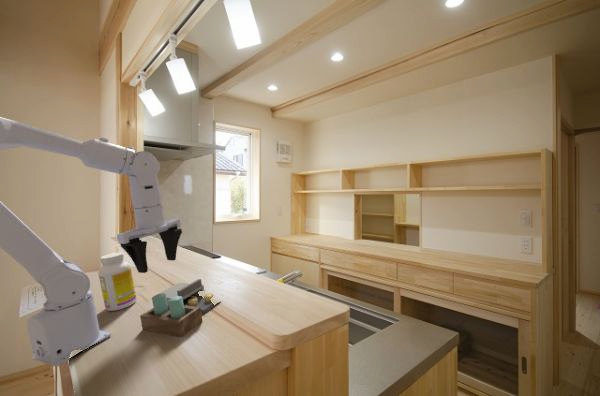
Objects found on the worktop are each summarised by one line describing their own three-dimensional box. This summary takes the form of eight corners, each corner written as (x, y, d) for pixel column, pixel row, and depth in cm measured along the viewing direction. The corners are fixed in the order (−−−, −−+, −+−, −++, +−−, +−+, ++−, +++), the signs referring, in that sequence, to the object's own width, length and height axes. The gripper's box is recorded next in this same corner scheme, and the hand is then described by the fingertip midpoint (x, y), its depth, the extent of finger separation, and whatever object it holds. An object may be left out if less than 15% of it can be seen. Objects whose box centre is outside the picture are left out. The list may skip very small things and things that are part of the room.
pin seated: (162, 328, 58) (158, 299, 57) (153, 326, 59) (148, 298, 58) (173, 321, 60) (168, 294, 59) (164, 319, 61) (159, 292, 60)
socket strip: (181, 337, 53) (178, 322, 53) (142, 329, 58) (140, 315, 57) (202, 321, 59) (200, 307, 58) (165, 315, 63) (163, 302, 63)
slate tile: (204, 313, 62) (202, 304, 61) (182, 310, 64) (180, 302, 64) (221, 301, 67) (219, 293, 67) (200, 298, 69) (198, 291, 69)
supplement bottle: (142, 297, 74) (133, 249, 73) (127, 310, 68) (118, 257, 66) (115, 300, 74) (106, 252, 72) (99, 313, 67) (88, 261, 66)
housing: (181, 312, 63) (178, 292, 63) (156, 308, 66) (152, 289, 66) (205, 296, 70) (202, 278, 69) (180, 293, 73) (178, 276, 73)
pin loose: (180, 332, 55) (174, 302, 55) (170, 330, 56) (164, 301, 56) (190, 324, 58) (185, 296, 57) (180, 323, 59) (175, 295, 58)
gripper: (129, 212, 55) (141, 279, 57) (186, 200, 68) (194, 255, 70) (106, 213, 58) (118, 277, 59) (165, 202, 71) (173, 254, 73)
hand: (158, 265), depth 65 cm, fingers open, 7 cm apart
